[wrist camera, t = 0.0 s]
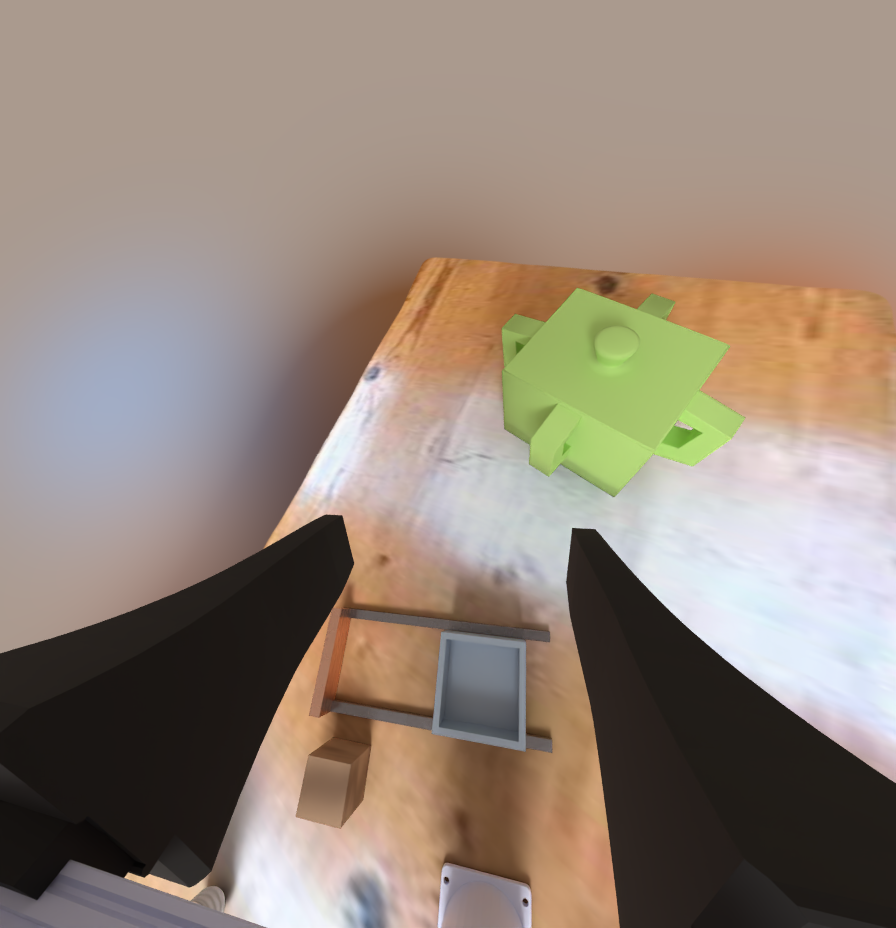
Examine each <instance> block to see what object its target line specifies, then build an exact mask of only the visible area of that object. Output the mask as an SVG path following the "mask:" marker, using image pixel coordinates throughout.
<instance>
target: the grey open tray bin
mask: <svg viewBox="0 0 896 928" xmlns="http://www.w3.org/2000/svg"><path fill="white" fill-rule="evenodd" d="M432 734H435V735H440V736H446V737H451V738H456V739H462V740H467V741H472V742H477V743H483V744H488V745H493V746H499V747H504V748H509V749H515V750H520V751H525V752H526V641H525V639H516V638H508V637H500V636H492V635H484V634H476V633H467V632H459V631H451V630H446V631H443V632H441V640H440V651H439V662H438V672H437V683H436V694H435V704H434V715H433V725H432Z"/></svg>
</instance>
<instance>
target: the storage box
mask: <svg viewBox="0 0 896 928" xmlns="http://www.w3.org/2000/svg"><path fill="white" fill-rule="evenodd" d="M674 304H675V301H672V300H669V299H666V298H663V297H660V296H658V295H655V294H651V295H650V296H649V297H648V298H647V299H646V300H645V301H644V302H643V303H642V304H641V305H640V306H639V307H638V309H634V308H632V307H629V306H626V305H624V304H621V303H618V302H616V301H613V300H610V299H608V298H605V297H602V296H599V295H597V294H594V293H591V292H588V291H586V290H583V289H580V288H576V290H575V291H574V292H573V293H572V294H571V295H570V296H569V297H568V298H567V300H566V301H565V302H564V303H563V304H562V305H561V306H560V307H559V308H558V309H557V311H556V312H555V313H554V314H553V315H552V316H551V317H550V318H549V319H548V320H547V322H543V321H539V320H536V319H532V318H528V317H525V316H521V315H517V314H515V315H514V316H513V317H512V318H511V319H510V320H509V321H508V322H507V323H506V324H505V325H504V326H503V327H502V341H503V355H504V366H505V368H504V369H503V370H502V386H503V409H504V429H505V430H507V431H509V432H510V433H512V434H513V435H515V436H516V437H518V438H520V439H521V440H523V441H524V442H526V443H528V444H529V445H530V457H529V464H530V465H531V466H533V467H534V468H536V469H538V470H539V471H541V472H542V473H544V474H545V475H547V476H548V477H549V476H550V475H551V474H552V473H553V472H554V470H555V469H556V468H557V467H558V466H559V465H560V464H561V465H563V466H564V467H566V468H568V469H569V470H571V471H572V472H574V473H576V474H577V475H579V476H580V477H582V478H584V479H585V480H587V481H588V482H590V483H592V484H593V485H595V486H597V487H598V488H600V489H601V490H603V491H605V492H606V493H608V494H609V495H611V496H613V497H615V496H616V495H617V494H618V493H619V492H620V490H621V489H622V488H623V487H624V486H625V485H626V484H627V483H628V482H629V480H630V479H631V478H632V477H633V476H634V475H635V474H636V473H637V472H638V470H639V469H640V468H641V467H642V466H643V465H644V464H645V463H646V462H647V460H648V459H649V458H650V457H651V456H652V455H653V454H655V455H658V456H661V457H664V458H667V459H670V460H674V461H677V462H680V463H683V464H686V465H689V466H694V465H696V464H697V463H698V462H700V461H701V460H703V459H704V458H705V457H707V456H708V455H710V454H711V453H712V452H714V451H715V450H717V449H718V448H720V447H721V446H722V445H724V444H725V443H727V442H728V441H729V440H731V439H732V437H733V436H734V434H735V433H736V431H737V430H738V428H739V427H740V425H741V424H742V422H743V421H744V419H745V417H744V416H742V415H740V414H738V413H737V412H735V411H733V410H732V409H730V408H728V407H727V406H725V405H723V404H722V403H720V402H718V401H717V400H715V399H713V398H712V397H710V396H708V395H707V394H705V393H703V392H702V391H700V388H701V387H702V385H703V384H704V383H705V381H706V380H707V378H708V377H709V376H710V374H711V373H712V371H713V370H714V369H715V367H716V366H717V364H718V363H719V362H720V360H721V359H722V357H723V356H724V355H725V353H726V352H727V350H728V349H729V348H730V345H728V344H726V343H723V342H721V341H718V340H716V339H713V338H711V337H708V336H705V335H703V334H700V333H698V332H695V331H692V330H690V329H687V328H685V327H682V326H679V325H677V324H674V323H671V322H669V321H666V319H667V317H668V315H669V313H670V312H671V310H672V308H673V306H674ZM677 420H679V421H681V422H683V423H685V424H687V425H688V426H690V427H692V428H694V429H692V430H687V429H684V428H680V427H676V426H674V425H675V423H676V422H677Z"/></svg>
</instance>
